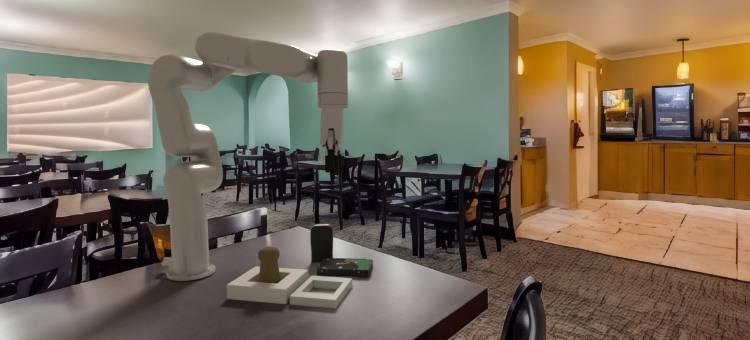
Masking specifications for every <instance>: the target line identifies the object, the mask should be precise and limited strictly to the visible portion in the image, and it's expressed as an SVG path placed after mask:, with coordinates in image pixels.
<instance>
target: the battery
mask: <svg viewBox="0 0 750 340" xmlns="http://www.w3.org/2000/svg"><path fill="white" fill-rule="evenodd" d="M309 236H310V237H309V241H310V255H311V257H310V260H311V262H313V263H321V262H322V261H323V259H324V258H334V229H333V227H332V225H331V224H330V223H315V224H312V225H311V227H310V232H309Z"/></svg>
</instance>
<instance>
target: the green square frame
mask: <svg viewBox="0 0 750 340" xmlns="http://www.w3.org/2000/svg"><path fill="white" fill-rule="evenodd" d="M352 287H353V277H325V276H317V275H311V276H310V277H308V280H307V281H305V282H304V283H303V284H302V285H301V286H300V287H299V288H298V289H297V290H296V291H295V292H294V293H293V294H292V295H290V303H289V305H292V306H294V305H295V306H301V307H313V308H314V307H315V308H323V309H324V308H325V309H326V308H327V309H335V310H336V309H337V307H338V306H339V305H340V303H341V302H342V301H343V299H344V298H345V297H346V295H347V294H348V292H349V291H350V290H351V289H352ZM313 288H314V289H315V288H316V289H326V290H335V292H334V293H333V294H332V293H321V292H311V291H312V290H313Z"/></svg>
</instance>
